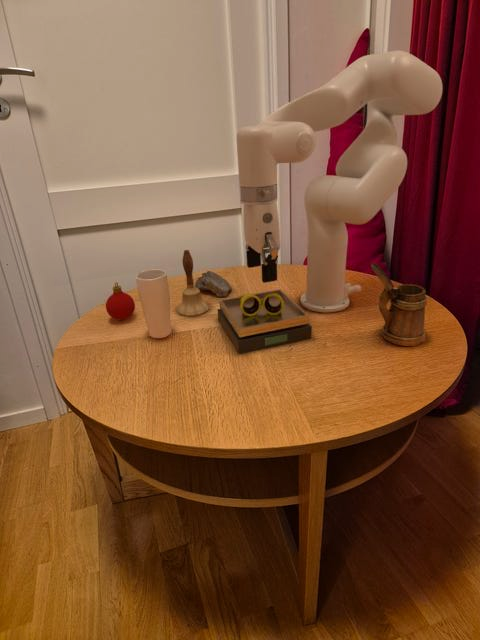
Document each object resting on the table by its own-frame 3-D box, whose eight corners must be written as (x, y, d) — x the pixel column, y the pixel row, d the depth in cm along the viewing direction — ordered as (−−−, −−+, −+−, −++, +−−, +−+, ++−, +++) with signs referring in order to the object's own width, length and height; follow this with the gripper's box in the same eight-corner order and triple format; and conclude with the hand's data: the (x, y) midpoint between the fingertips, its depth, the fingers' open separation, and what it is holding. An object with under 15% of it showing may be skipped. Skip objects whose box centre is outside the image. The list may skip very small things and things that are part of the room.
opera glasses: (282, 309, 96) (281, 289, 95) (284, 315, 91) (283, 294, 90) (241, 311, 96) (240, 291, 95) (240, 317, 91) (239, 296, 90)
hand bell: (171, 309, 108) (163, 251, 100) (197, 300, 112) (190, 243, 105) (189, 319, 102) (181, 258, 95) (215, 309, 107) (210, 250, 99)
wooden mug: (355, 331, 92) (362, 255, 84) (411, 324, 94) (423, 249, 86) (372, 351, 85) (382, 270, 76) (433, 343, 86) (449, 262, 78)
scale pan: (280, 296, 103) (280, 289, 102) (308, 323, 89) (309, 315, 88) (219, 307, 99) (218, 299, 98) (239, 337, 85) (238, 329, 84)
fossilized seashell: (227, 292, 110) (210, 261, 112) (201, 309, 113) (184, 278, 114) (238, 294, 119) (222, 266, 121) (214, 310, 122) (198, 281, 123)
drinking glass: (169, 341, 92) (159, 280, 86) (141, 340, 94) (130, 279, 87) (178, 327, 98) (171, 269, 91) (152, 326, 100) (142, 268, 93)
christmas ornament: (132, 324, 101) (125, 287, 96) (104, 325, 102) (96, 288, 97) (140, 312, 107) (133, 276, 103) (114, 312, 108) (106, 277, 103)
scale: (281, 307, 105) (281, 295, 104) (311, 338, 90) (312, 324, 89) (218, 320, 101) (217, 306, 99) (239, 354, 86) (238, 339, 85)
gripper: (293, 199, 75) (293, 284, 83) (261, 185, 90) (263, 259, 98) (255, 204, 73) (259, 291, 81) (228, 189, 88) (233, 264, 96)
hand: (261, 273), depth 90 cm, fingers open, 9 cm apart
